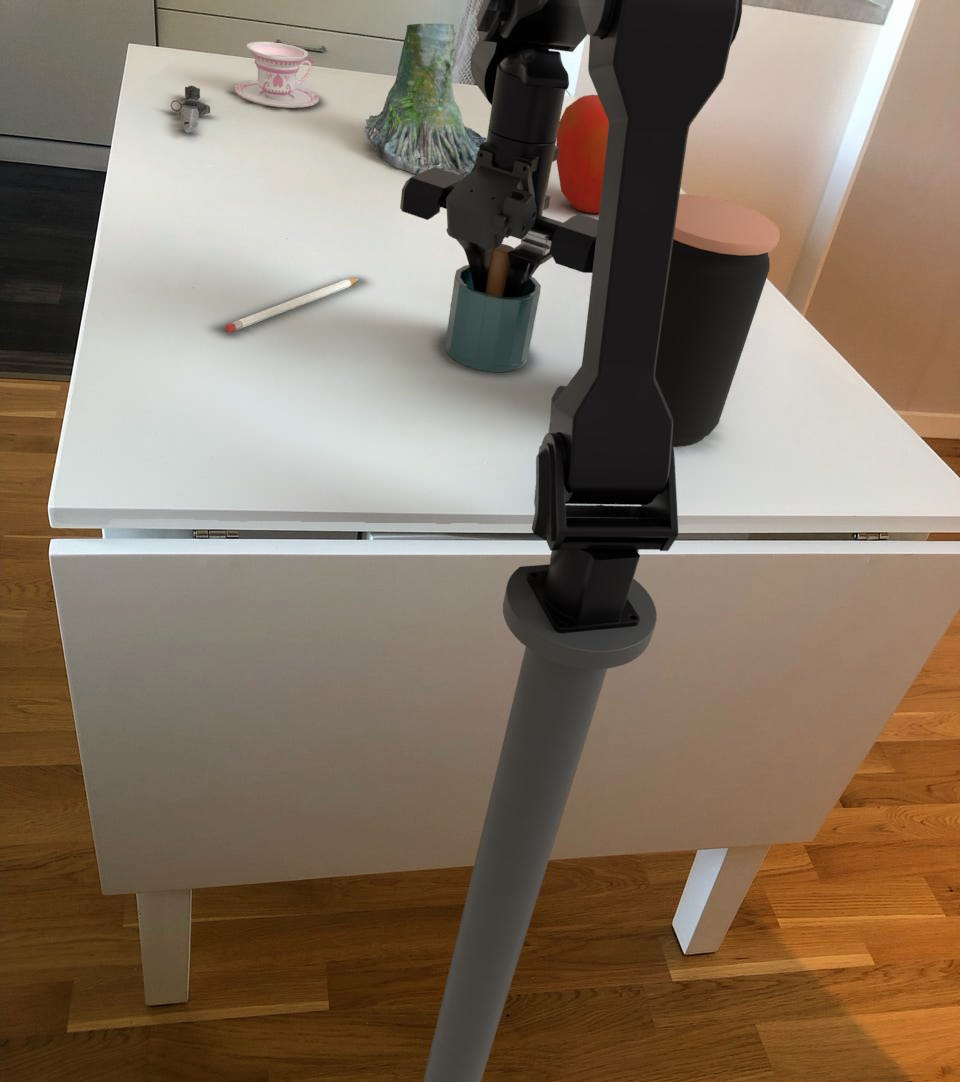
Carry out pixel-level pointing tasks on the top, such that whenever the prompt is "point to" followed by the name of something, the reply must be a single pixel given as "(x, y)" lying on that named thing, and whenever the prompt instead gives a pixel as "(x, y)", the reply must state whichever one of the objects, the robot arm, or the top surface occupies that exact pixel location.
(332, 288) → the pencil
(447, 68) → the tree stump
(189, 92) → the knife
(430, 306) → the top surface
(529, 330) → the teal cup
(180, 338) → the top surface
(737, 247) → the coffee jar
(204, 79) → the top surface
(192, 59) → the top surface
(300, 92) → the teacup
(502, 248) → the tan wooden dowel
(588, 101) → the apple
